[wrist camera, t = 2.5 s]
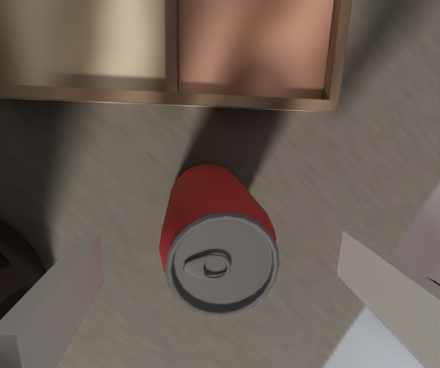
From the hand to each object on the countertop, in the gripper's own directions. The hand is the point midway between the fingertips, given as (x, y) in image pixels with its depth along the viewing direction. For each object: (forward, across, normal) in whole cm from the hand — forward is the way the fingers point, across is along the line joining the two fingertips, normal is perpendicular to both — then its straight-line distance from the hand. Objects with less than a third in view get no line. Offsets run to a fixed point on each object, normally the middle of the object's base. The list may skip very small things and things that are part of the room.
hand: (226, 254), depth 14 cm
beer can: (+11, 0, 0) cm, 11 cm away
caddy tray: (+10, -4, +15) cm, 19 cm away
